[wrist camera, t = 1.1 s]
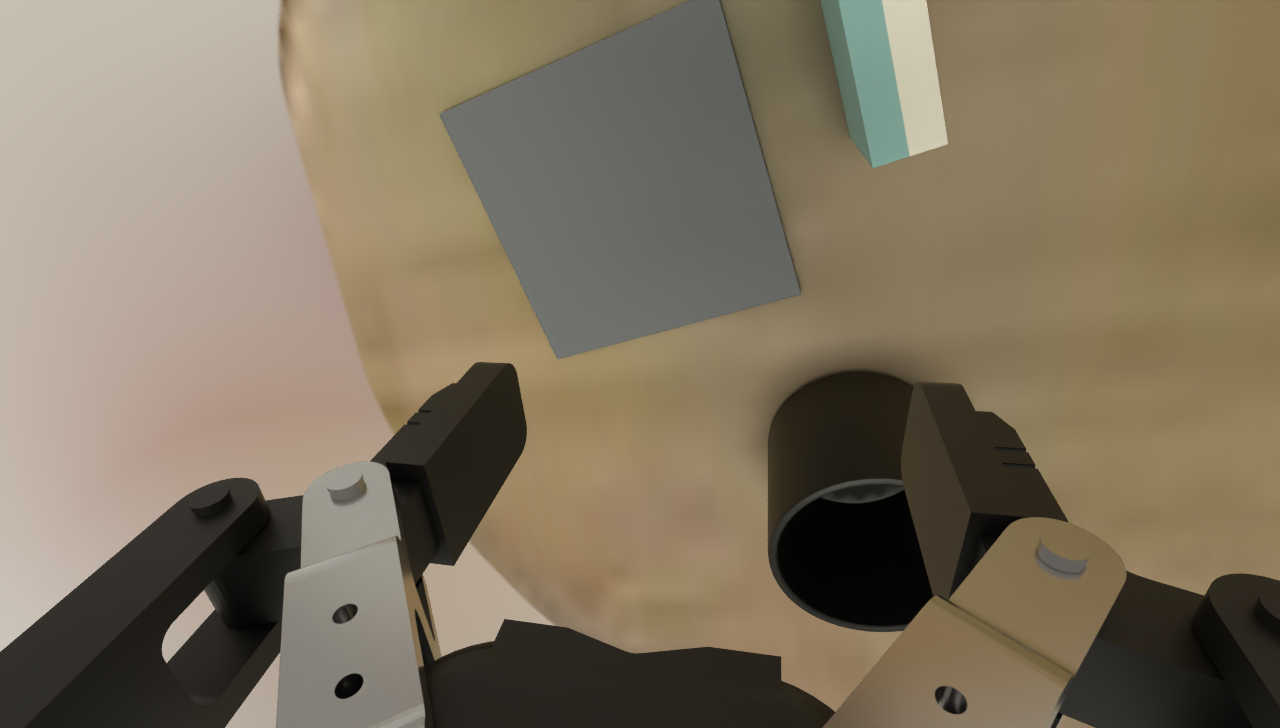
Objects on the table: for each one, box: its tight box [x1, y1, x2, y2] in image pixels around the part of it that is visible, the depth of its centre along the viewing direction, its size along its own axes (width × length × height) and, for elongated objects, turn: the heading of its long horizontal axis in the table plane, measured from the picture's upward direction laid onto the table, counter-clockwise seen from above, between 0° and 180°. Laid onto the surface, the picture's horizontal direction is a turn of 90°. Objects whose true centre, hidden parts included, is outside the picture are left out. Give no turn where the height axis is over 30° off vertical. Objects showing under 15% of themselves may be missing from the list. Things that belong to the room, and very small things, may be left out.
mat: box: [439, 0, 801, 359], centre depth 30 cm, size 14×14×1 cm
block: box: [820, 0, 948, 168], centre depth 22 cm, size 2×9×7 cm, turn 21°
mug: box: [768, 373, 933, 632], centre depth 31 cm, size 9×12×9 cm
